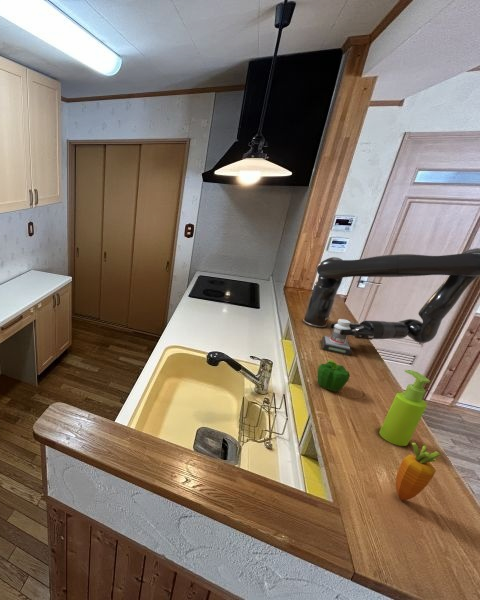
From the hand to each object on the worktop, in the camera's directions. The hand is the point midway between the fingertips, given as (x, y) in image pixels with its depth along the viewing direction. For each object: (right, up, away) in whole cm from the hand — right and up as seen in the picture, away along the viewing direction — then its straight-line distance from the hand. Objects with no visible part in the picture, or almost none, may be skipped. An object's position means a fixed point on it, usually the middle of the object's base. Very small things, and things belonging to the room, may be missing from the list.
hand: (335, 328), depth 133 cm
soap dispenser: (-19, -26, -44) cm, 54 cm away
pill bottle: (+2, -6, +2) cm, 7 cm away
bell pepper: (-20, -18, -23) cm, 35 cm away
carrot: (-34, -33, -61) cm, 78 cm away
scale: (+2, -8, +3) cm, 9 cm away
